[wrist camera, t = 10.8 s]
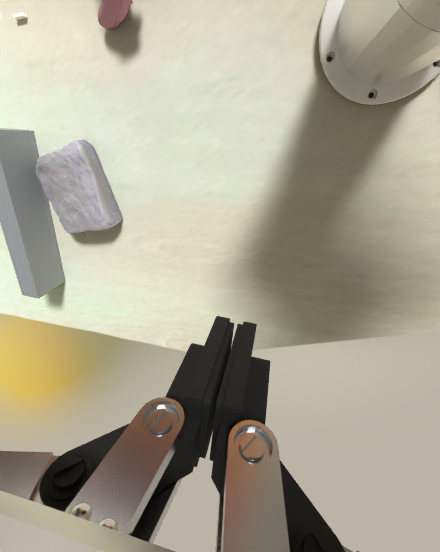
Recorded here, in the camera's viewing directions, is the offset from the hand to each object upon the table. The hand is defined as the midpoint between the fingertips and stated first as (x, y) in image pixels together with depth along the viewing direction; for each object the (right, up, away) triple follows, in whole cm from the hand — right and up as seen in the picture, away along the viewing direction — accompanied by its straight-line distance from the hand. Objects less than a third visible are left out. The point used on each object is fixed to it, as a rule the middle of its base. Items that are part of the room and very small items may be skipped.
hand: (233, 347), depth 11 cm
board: (-29, +13, +32) cm, 45 cm away
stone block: (-21, +16, +29) cm, 39 cm away
